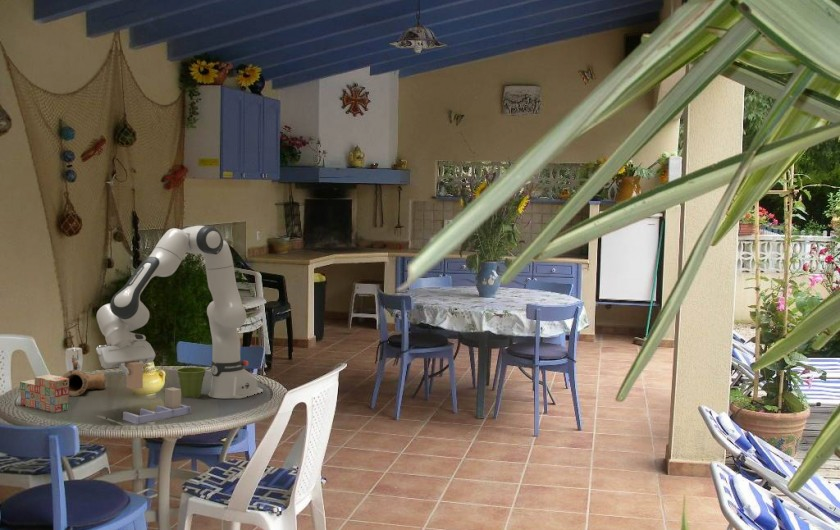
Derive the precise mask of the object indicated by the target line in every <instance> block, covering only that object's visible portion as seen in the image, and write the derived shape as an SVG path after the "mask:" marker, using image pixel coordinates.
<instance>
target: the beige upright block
mask: <svg viewBox="0 0 840 530" xmlns="http://www.w3.org/2000/svg"><path fill="white" fill-rule="evenodd" d="M181 404H182V394H181V388H177V387H174V386H173V387H167V388H164V407H166V408H169V409H178V408H181Z"/></svg>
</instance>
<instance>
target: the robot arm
mask: <svg viewBox="0 0 840 530" xmlns="http://www.w3.org/2000/svg"><path fill="white" fill-rule="evenodd" d="M186 254H194V255H202V256H203V258H204V265H205V266H204V267H205V272H206V279H207V287H208V290H209V292H210V294H211V297H212V301H211V302H209V304H208V306H207V308H206V315H207V317H208V322H209V328H210V334H211V335H210V336H211V342H212V344H211V345H212V360H211V366H210V367H211V368H210V369H211V374H212V375H211V382H210V389H209V392H208V396H209V397H210V398H215V399H236V400H237V399H238V400H239V399H243V398H248V397H251V396H255V395H258V394H257V393H259V394H262V393H264V390H263V388H261V387H259V386H258V380H257V378H256V376H254V375H253V374H252V373H251V372H249V371H248V370H246V369H245V367H248V366H249V365H250V364H249V361H248V360H242V359H241V339H240V338H239V333H238V329H239V328H241V327H243V325H244V324H245V323H246V322H247V321H246V320H247V312H246V309H245V307H244V304H243V301H242V298H241V295H240V292H239V289H238V284H237V280H236V273H235V265H234V259H233V255H232V252H231V249H230V246H229V243H228V242H227V241H226V240H224V239H223V236H222V234H221V231H219V230H218V228H216V227H214V226H210V225H194V226H185V227H182V228H175V227H174V228H169V229H168V230H167V231H166V232H165V233H164V234H163V236H162V237H161V238H160V239H159V241H158V242H157V244H156V245H155V247H154V248H153V250H152V252H151V253H150V255H148V257H145V259H144V260H143V261H142V262H141V263H140V264H139V265H138V267H137V268H136V270H135V271H134V272H133V274H132V275H131V277H130V278H129V279H128V281H127V282H126V283H125V284H124V286H123V287H121V289H119V290H118V291H117V292H116V293H115V294H114V295H113V296H112V298H111V300H110V303H106V304H104V305H102V306H101V307H100V308H99V309H98V310H97V312H96V321H97V324H98V328H99V330H100V332H101V333H102V335H103V336H104V338H105V339H104V340H105V342H106V344H103V345H102V344H101V345H98V346H97V347H96V348H95V352H96V354H97V355H98V359H99V363H100V365H101V367H102V368H103V369H104V370H107V369H114V368H115V369H116V368H118V369H119V370H121V372H123V373H124V374H125V376H127V375H131V373H132V372H131V370H130V369H128V368H126V363H127V362H134V361H135V362H139V363H142V372H143V373H144V372H145V370H144V364H147V363H153V362H154V360H155V358H156V353H155V350H154V348H153V347H152V345H151V343H150V342H148V341H147V340H146V339H147V338H146V336H145V334H142V333H141V334H140V333H134V331H136V330H138V329H141V328H143V327H144V326H146V324H147V323H148V322H149V320H150V311H149V309H148V307H146V305H145V304H144V303H143V302H142V301H141V294H142V292H143V291H144V289H146V287H147V285H148V284H149V282H150V281H151V280H152V278H154V277H159V278H160V277H161V278H166V277H170V276H172V275H174V273H175V272H176V271H177V269H178V268H179V266H180V265H181V263H182V261H183V259H184V256H185V255H186ZM261 392H262V393H261ZM254 394H255V395H254ZM247 396H248V397H247Z"/></svg>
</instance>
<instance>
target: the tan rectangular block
mask: <svg viewBox="0 0 840 530" xmlns="http://www.w3.org/2000/svg"><path fill="white" fill-rule="evenodd" d="M125 367H126V368H128V369H130V370H131V372H132V373H131V375H127V376H126V375H125V376H126V377H125V378H126V381H125V382H126V388H127V389H131V390H140V389H143V387H144V384H143V381H144V380H143V377H144V376H143V373H144V372H142V363H139V362H135V361H134V362H127V363H126V366H125Z"/></svg>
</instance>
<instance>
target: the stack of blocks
mask: <svg viewBox="0 0 840 530" xmlns="http://www.w3.org/2000/svg"><path fill="white" fill-rule="evenodd" d="M19 390H20V406H23V405H25V406H24V407H27V406H28V407H27V408H31V407H33V408H32V409H36V408H39V409H38V410H40V409H43V410H42V411H44V410H48V411H51V412H50V413H53V412H57V413H61V412H60V411H62V412H64V411H63V410H66V411H69V410H70V396H69V379H68V378H64V377H63V376H60V375H53V374H43V375H40V376H38V375H37V376H34V379H28V380H24V381H23V380H22V381H20V382H19ZM68 409H69V410H68ZM48 411H47V412H48Z"/></svg>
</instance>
